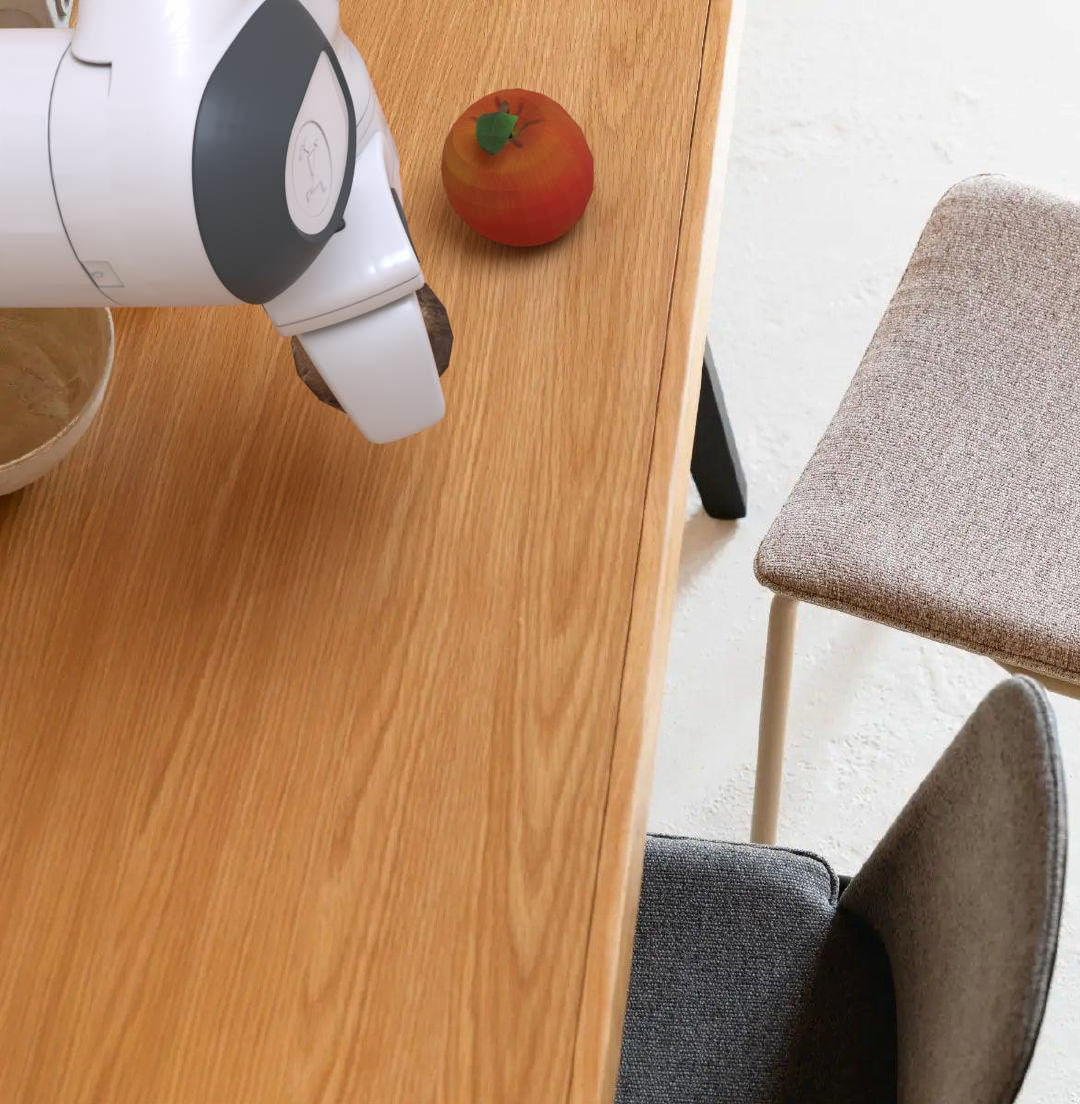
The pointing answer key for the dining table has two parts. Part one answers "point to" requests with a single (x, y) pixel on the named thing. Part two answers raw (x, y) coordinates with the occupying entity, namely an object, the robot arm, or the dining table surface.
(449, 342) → the mushroom
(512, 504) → the dining table surface
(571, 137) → the fruit
